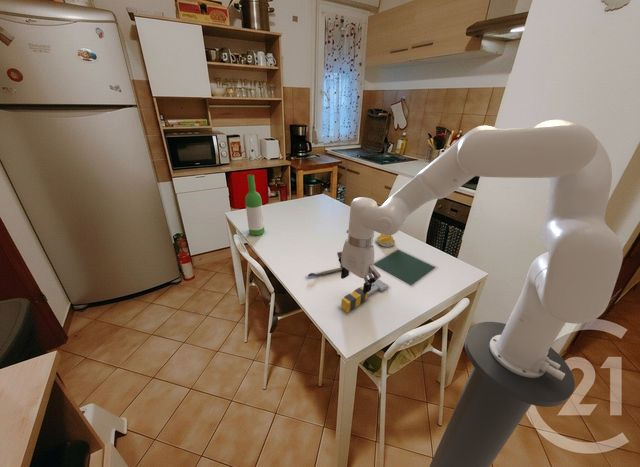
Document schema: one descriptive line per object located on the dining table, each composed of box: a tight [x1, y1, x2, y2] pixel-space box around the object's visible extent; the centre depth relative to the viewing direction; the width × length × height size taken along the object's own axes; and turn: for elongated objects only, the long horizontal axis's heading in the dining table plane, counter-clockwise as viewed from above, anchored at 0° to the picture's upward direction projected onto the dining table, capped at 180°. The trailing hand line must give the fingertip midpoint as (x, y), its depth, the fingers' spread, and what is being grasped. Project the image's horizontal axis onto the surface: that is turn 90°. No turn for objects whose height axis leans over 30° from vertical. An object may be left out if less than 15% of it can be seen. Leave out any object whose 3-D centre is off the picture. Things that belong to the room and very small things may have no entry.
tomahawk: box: [307, 267, 342, 277], centre depth 107 cm, size 21×7×1 cm, turn 110°
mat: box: [374, 249, 435, 286], centre depth 111 cm, size 18×18×1 cm
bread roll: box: [376, 234, 396, 248], centre depth 127 cm, size 8×9×4 cm
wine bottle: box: [244, 174, 265, 236], centre depth 128 cm, size 8×8×30 cm
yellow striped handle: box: [340, 279, 389, 314], centre depth 92 cm, size 4×21×4 cm, turn 131°
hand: (355, 284), depth 86 cm, fingers open, 9 cm apart
